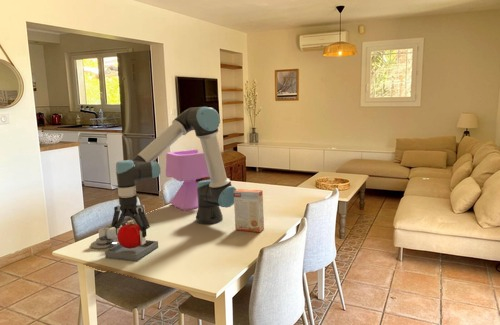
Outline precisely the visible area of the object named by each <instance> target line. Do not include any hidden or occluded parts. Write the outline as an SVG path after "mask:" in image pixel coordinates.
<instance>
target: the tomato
mask: <svg viewBox="0 0 500 325" xmlns="http://www.w3.org/2000/svg"><path fill="white" fill-rule="evenodd" d="M140 230H141V229H140V227H139V226H138V224H135V223H134V222H129V223H127V224H126V225H124V226H122V225H121V228H120V229H119V231H118V236H117V238H118V242H119V244H120V245H121V246H123V247H125V248H129V249H131V248H136V247H138V246H139V245H141V241H140Z"/></svg>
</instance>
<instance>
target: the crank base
mask: <svg viewBox="0 0 500 325" xmlns="http://www.w3.org/2000/svg"><path fill="white" fill-rule="evenodd" d="M117 244H119V243H118V239H106V240H100V239H99V237H98V238H96V239H95V240H94V241H92V243H91V244H90V247H91V249H93V250H105V249H110V248H112V247H114V246H116V245H117Z"/></svg>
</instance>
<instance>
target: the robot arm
mask: <svg viewBox="0 0 500 325" xmlns="http://www.w3.org/2000/svg"><path fill="white" fill-rule="evenodd" d="M220 124H221V118H220V115H219V113H218V111H217V110H216V109H215V108H214V107H208V106H198V107H197V106H196V107H194V106H193V107H189V108H187V109H185V110H184V111H182V112H181V113H180V114H179V115H177V116H176V118H175V119H173V120H172V121H171V124H170V125H169V126H168V127H167V128H166V129H165V130H164V131H163V132H162V133H160V134H159V135H158V136H157V137H156V138H154V140H152V141H150V143H149V144H148V145H147V146H145V147H144V149H142V150H141V151H140V152H138V153H137V154H136V156H135V155H134V157H133V158H130V159H127V160H124V159H123V160H119V161H117V162H116V163H115V174H116V182H117V192H118V193H117V194H118V196H119V197H118V203H119V205H116V206H114V207H113V210H114V212H113V216H112V222H111V227H112V228H114V229H116V235H118V231H119V229H120V228H121V227H122V225H121V224H122V222H124V221H125V218H126V217H129V218H130V217H132V218H133V219H134V220H135V221H136V223H137V224H138V226H139V227H140V229H141V230H140V241H141V245H143V244H145V243H146V240H147V238H146V237H147V230H148V229H150V228H151V226H150V223H149V221H148V219H147V215H146V216H145V214H146V212H145V213H144V208H143V207H140V208H139V207H137V205H138V199H137V198H138V197H137V196H138V195H137V188H136V185H137V184H136V181H137V182H138V181H143V180H150V179H154V178H158V177H159V176H160V174H161V165H160V163H159V162H158V161H156V159H158V158H159V157H160V156H161V155H162V154H163V153H164V152H165V151H166V150H167V149H168V148H170V146H172V145H173V144H174V143H175V142H176V141H178V139H179V138H181V137H182V136H186V134H188V133H189V132H191V131H194V133H195V136H196V137H197V138H198V139H200V144H201V148H202V153H204V156H205V160H206V164H207V168H208V172H209V176H210V177H209V179H205V180H200V181H198V182H197V194H198V208H197V210H196V211H197V212H196V215H195V222H196V223H197V224H203V225H210V224H216V223H220V222H222V221H223V220H224V219H223V216H224V215H223V213H222V210H221V208H231V207H232V206H234V191H235V190H237V188H236V187H235V186H233V185H232V181H231V178H228V177H227V173H226V169H225V165H224V160H223V157H222V153H221V150H220V149H221V148H220V145H219V140H218V135H217V134H218V132H219V127H220ZM220 207H221V208H220ZM137 212H138V213H137ZM139 216H140V217H139ZM118 243H119V242H118Z"/></svg>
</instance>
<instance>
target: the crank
mask: <svg viewBox="0 0 500 325" xmlns="http://www.w3.org/2000/svg"><path fill="white" fill-rule="evenodd" d="M126 224H128V220H123V222H122V224H121V227H122V226H124V225H126ZM97 230H98V238H99V239H100V240H106V239H118V238H117V236H118V235H116V228H113V227H112V228H111V227H110V228H109V227H101V228H98V229H97Z"/></svg>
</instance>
